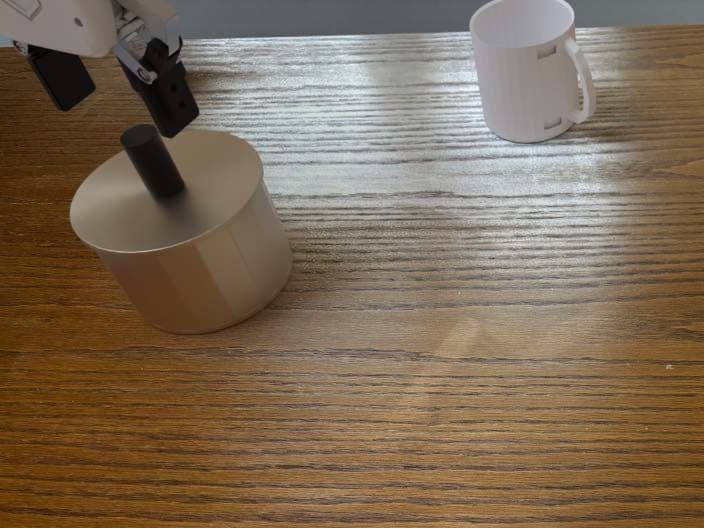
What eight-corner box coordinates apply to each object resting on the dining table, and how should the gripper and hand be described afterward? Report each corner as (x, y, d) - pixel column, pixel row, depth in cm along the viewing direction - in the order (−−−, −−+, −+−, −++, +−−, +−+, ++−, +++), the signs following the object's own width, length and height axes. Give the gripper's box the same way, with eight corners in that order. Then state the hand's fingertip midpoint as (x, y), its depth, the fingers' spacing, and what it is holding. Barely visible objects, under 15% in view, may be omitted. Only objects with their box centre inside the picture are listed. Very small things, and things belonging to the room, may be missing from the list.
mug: (465, 116, 80) (448, 21, 73) (539, 77, 83) (530, -18, 76) (544, 171, 74) (534, 74, 67) (621, 127, 77) (619, 29, 70)
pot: (99, 308, 68) (41, 226, 62) (205, 208, 75) (163, 125, 68) (224, 354, 64) (176, 272, 57) (324, 243, 71) (292, 159, 64)
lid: (36, 235, 62) (-10, 173, 58) (166, 127, 69) (134, 64, 65) (181, 285, 57) (143, 221, 53) (303, 163, 65) (279, 97, 60)
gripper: (-191, -160, 45) (1, 120, 58) (30, -134, 39) (187, 171, 52) (-76, -210, 49) (79, 64, 62) (141, -194, 43) (261, 105, 56)
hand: (129, 113), depth 57 cm, fingers open, 9 cm apart
